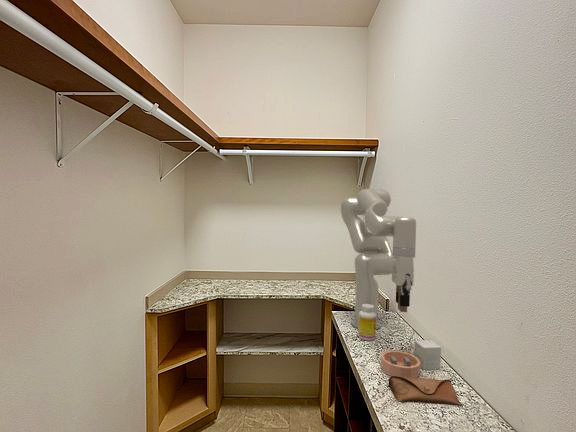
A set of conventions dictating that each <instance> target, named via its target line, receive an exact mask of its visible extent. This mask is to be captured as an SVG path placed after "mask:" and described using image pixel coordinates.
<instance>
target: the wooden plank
mask: <svg viewBox="0 0 576 432" xmlns="http://www.w3.org/2000/svg"><path fill="white" fill-rule="evenodd" d="M403 286H406V284H403ZM404 288H405V287H403V290H404ZM400 294H401V286H398V303H397V310H399V312H401V313H408V307H404V306H400Z"/></svg>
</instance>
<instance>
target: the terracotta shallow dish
mask: <svg viewBox="0 0 576 432" xmlns="http://www.w3.org/2000/svg"><path fill="white" fill-rule="evenodd" d="M380 368H381V371H382V372H384V374H386V375H388V376H389V377H392V376H399V377H406V378H419V376H420V374H421V369H422V368H421V362H420V361H419V359H418V358H417V357H415V356H414V354H411V353H409V352H404V351H402V350H388V351H384V352H382V353H381V355H380Z"/></svg>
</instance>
